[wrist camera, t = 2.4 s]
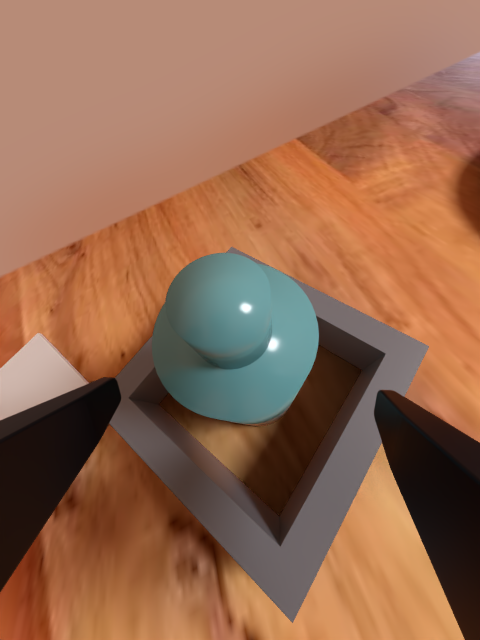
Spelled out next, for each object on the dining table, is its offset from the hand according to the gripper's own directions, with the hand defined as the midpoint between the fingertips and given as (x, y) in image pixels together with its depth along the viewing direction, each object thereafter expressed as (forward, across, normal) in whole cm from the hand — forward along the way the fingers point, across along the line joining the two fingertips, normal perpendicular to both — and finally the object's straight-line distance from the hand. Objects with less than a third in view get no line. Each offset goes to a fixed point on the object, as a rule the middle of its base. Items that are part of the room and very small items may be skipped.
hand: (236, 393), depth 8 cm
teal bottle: (+8, 0, +5) cm, 9 cm away
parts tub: (+8, 0, +5) cm, 9 cm away
